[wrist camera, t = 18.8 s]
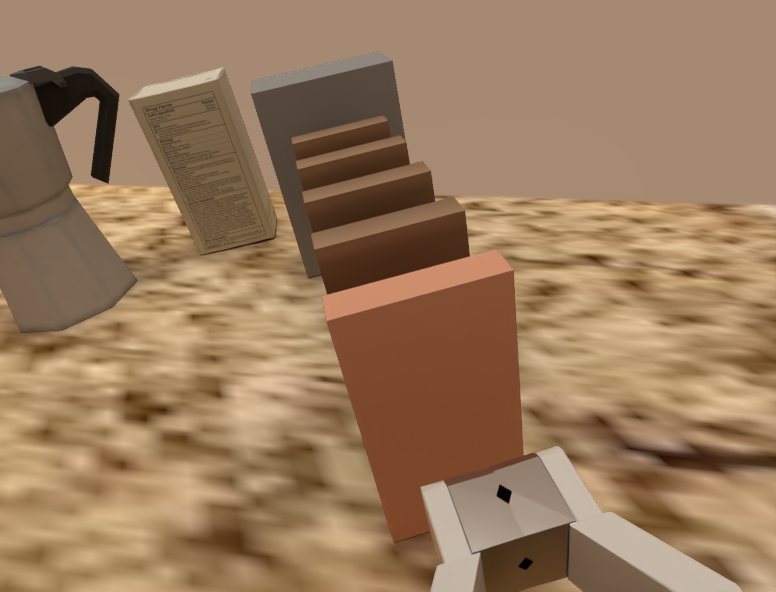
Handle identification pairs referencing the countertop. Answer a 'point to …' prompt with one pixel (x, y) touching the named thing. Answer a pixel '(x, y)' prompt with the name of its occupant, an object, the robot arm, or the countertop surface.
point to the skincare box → (207, 159)
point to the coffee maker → (53, 203)
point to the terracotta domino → (431, 376)
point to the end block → (320, 120)
